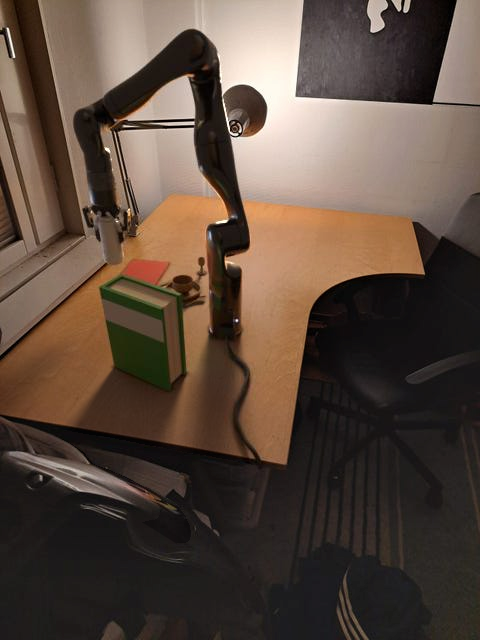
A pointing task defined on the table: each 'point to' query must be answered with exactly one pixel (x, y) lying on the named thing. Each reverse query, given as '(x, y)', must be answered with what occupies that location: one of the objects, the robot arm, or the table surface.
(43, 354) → the table surface
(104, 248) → the energy drink can
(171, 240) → the table surface
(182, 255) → the table surface
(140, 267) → the cloth
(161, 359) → the hardback book
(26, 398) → the table surface
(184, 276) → the place setting
